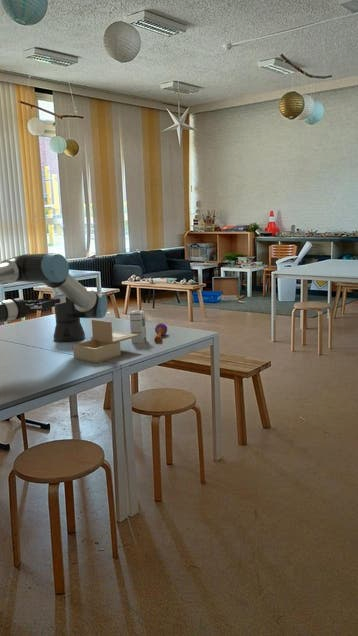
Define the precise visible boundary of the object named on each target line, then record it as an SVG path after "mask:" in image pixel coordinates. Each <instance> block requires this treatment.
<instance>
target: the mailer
mask: <svg viewBox="0 0 358 636" xmlns="http://www.w3.org/2000/svg"><path fill="white" fill-rule="evenodd" d="M72 352H73V355H72V356H73V360H79V361H83V362H88V363H93V364H98V363H102V362H105V361H109V360H111V359H114V358H117V357H118V358H119V357H120V356H121V357H122V353H121V352H122V351H121V341H120V342H116V343H109V342H103V341H97V340H92V339H90V340H86V341H82V342H79V343H75V344H73V345H72Z"/></svg>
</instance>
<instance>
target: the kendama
mask: <svg viewBox="0 0 358 636" xmlns="http://www.w3.org/2000/svg"><path fill="white" fill-rule="evenodd" d="M154 331H155V333H156V336H155V337H154V342H155V344H160V343H161V342H162V336H164V335H166V334H167V333H168V326H167V324H165V323H163V322H162V323H157V324H156V326H155V328H154Z"/></svg>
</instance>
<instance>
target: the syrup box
mask: <svg viewBox="0 0 358 636" xmlns="http://www.w3.org/2000/svg"><path fill="white" fill-rule="evenodd" d="M128 315H129V324H130V326H129V327H130V334H137V335H138V337H135V338H131V339H130V340H131V343H133V344H144V343H145V342H147V329H146V318H145V316H146V315H145V310H144V309H143V310H142V309H136V310H132V311H130V312H129V314H128Z"/></svg>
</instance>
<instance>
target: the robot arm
mask: <svg viewBox="0 0 358 636" xmlns="http://www.w3.org/2000/svg"><path fill="white" fill-rule="evenodd" d="M17 282H18V283H19V282H20V283H21V282H23V283H24V282H25V283H43V285H45V286H47V288H50V289H56V290H58V291H59V292H60V293H56V294H55V295H54V297H49V296H45V297H43V298H37V299H30V300H24V299H23V298H21V297H16V298H11V299H4V300H0V324H1V323H7V324H8V323H9V321H13V320H18V319H24V318H25V317H26V316H27V314H28V313H34V311H38V312H41V311H42V310H45V309H49V308H54V315H55V317H54V318H55V327H54V333H53V341H55V342H56V343H57V342H58V343H69V342H78V341H81V340H84V339H85V338H86V333H85V330H84V328H83V325H82V324H81V319H96V320H99V319H103V318H105V316H106V315H107V312H108V297H107V296H106V294H104V293H96V292H95V291H94V290H93V289H91V288H86V287H85V286H84V285H83V284H81V283H80V282H79V281H78V280H77V279H76V278H75V277H73V276H72V275H71V274H70V267H69V264H68V260H67V259H66V257H65V256H64V255H62V254H61V253H55V252H54V253H53V252H50V253H49V252H48V253H26V254H21V255H17V256H13V257H11V258H6V259H4V260H2V261H1V262H0V284H3V283H8V284H13V283H17Z"/></svg>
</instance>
